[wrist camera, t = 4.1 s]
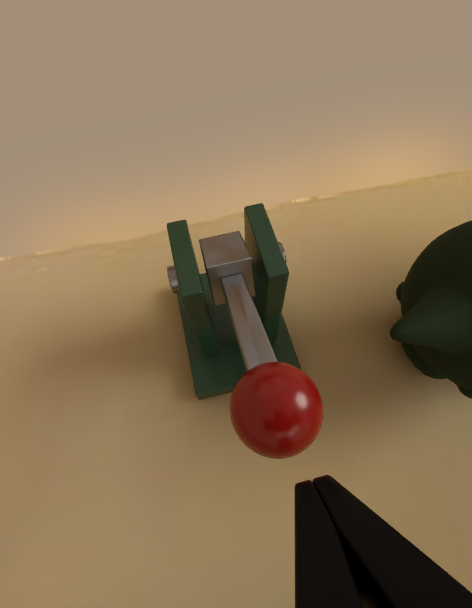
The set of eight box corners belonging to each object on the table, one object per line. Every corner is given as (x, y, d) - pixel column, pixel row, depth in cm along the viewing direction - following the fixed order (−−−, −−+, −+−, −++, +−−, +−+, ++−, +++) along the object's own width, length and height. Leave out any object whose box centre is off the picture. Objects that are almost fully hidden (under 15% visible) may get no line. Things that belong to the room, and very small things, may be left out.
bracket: (299, 374, 22) (329, 311, 14) (198, 400, 22) (165, 352, 13) (262, 268, 27) (268, 168, 18) (177, 287, 26) (141, 194, 17)
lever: (335, 461, 11) (344, 411, 9) (246, 486, 10) (234, 441, 9) (251, 270, 19) (245, 223, 17) (201, 281, 19) (189, 235, 17)
